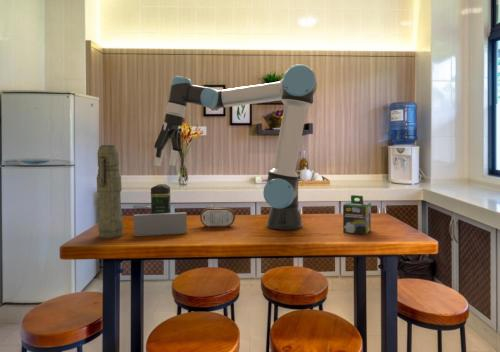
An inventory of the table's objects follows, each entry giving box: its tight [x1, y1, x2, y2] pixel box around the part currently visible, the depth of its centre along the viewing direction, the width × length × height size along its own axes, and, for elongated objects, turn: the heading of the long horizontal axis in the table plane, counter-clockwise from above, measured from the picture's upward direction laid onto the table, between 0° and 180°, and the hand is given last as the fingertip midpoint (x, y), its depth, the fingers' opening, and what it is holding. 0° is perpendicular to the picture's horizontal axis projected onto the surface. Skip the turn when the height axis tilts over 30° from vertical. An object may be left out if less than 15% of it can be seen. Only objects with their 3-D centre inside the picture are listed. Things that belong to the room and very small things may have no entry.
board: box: [133, 211, 188, 237], centre depth 141 cm, size 3×20×8 cm, turn 103°
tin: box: [199, 206, 236, 228], centre depth 154 cm, size 15×3×8 cm, turn 92°
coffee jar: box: [150, 183, 172, 214], centre depth 152 cm, size 10×8×19 cm
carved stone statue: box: [96, 144, 124, 239], centre depth 138 cm, size 9×12×35 cm
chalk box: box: [342, 194, 372, 236], centre depth 143 cm, size 9×9×15 cm
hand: (164, 165), depth 148 cm, fingers open, 13 cm apart
